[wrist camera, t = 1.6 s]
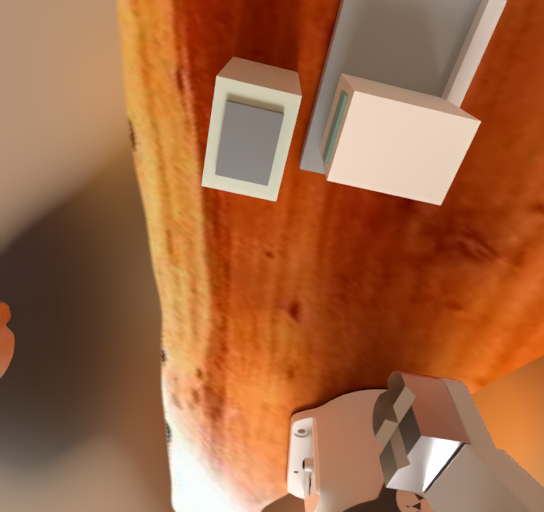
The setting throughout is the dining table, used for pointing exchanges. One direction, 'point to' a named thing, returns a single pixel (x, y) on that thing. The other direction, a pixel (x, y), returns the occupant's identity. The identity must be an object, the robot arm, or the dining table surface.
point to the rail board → (388, 51)
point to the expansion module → (251, 128)
